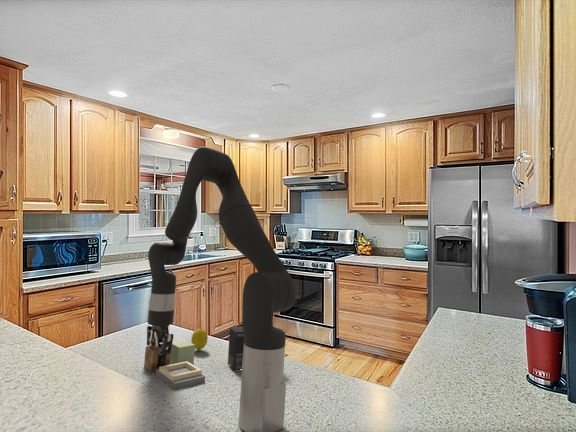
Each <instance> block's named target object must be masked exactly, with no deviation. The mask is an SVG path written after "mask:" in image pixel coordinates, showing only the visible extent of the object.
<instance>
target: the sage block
mask: <svg viewBox="0 0 576 432" xmlns="http://www.w3.org/2000/svg"><path fill="white" fill-rule="evenodd" d="M195 350H196V349H195V345H194V344H192V342H191V341H188V340H181V341H176V342H175V341H174V342H172V348H171V355H170V365H171V364H176V363H181V362H186V361H188V362H189V363H191V364H193V365H194V362H195V352H196V351H195Z"/></svg>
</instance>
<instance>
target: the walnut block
mask: <svg viewBox="0 0 576 432" xmlns="http://www.w3.org/2000/svg"><path fill="white" fill-rule="evenodd" d="M161 350H162V347H161ZM144 352H145V353H144V361H143V363H144V364H143V368H144V369H146V370H147V371H148V372H149V373H151V374H152V373H156V369H159V368H158V367H157V364H158V348H157V347H156V345H154V346H145V351H144ZM170 355H171V353H170V354H167V355H166V364H165V366H166V365H171V363H170Z"/></svg>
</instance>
